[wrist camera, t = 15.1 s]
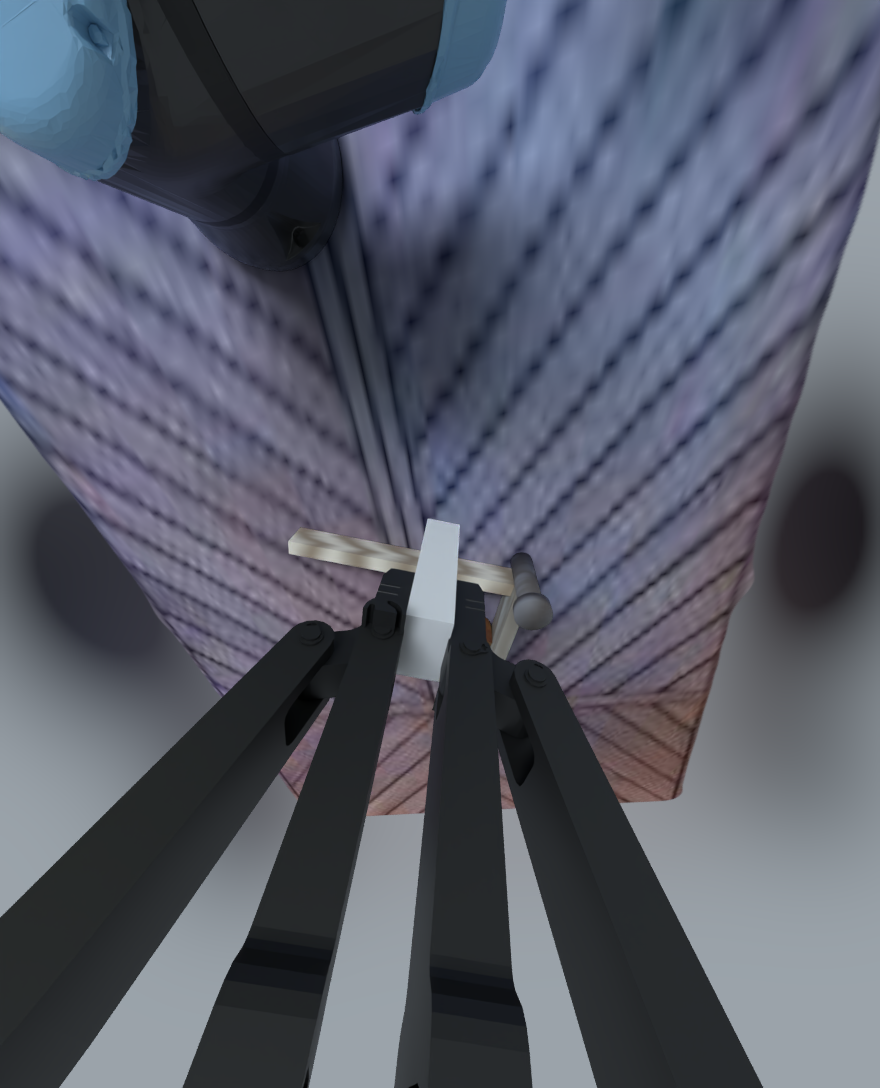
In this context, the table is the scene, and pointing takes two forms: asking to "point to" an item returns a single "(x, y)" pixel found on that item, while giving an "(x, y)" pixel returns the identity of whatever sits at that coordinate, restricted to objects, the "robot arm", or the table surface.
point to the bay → (515, 584)
